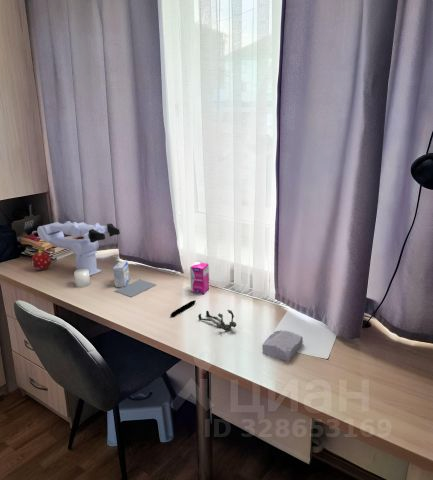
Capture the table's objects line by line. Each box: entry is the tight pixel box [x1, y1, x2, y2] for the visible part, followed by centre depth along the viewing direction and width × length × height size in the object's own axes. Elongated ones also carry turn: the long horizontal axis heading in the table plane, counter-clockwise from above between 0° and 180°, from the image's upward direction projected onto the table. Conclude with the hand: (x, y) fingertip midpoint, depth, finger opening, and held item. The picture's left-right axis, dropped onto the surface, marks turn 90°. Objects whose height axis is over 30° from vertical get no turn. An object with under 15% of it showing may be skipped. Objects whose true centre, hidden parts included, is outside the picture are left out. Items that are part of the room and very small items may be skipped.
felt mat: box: [114, 279, 157, 298], centre depth 165 cm, size 10×14×1 cm
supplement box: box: [189, 261, 210, 295], centre depth 160 cm, size 6×6×12 cm
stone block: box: [261, 330, 304, 362], centre depth 121 cm, size 12×5×10 cm
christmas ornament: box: [31, 249, 52, 271], centre depth 186 cm, size 9×9×10 cm
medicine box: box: [112, 260, 131, 288], centre depth 169 cm, size 8×4×9 cm, turn 179°
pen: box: [170, 300, 196, 318], centre depth 147 cm, size 2×14×2 cm, turn 143°
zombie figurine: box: [197, 309, 237, 330], centre depth 135 cm, size 5×7×15 cm
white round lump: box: [73, 269, 91, 288], centre depth 169 cm, size 6×6×6 cm
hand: (111, 234), depth 166 cm, fingers open, 7 cm apart
